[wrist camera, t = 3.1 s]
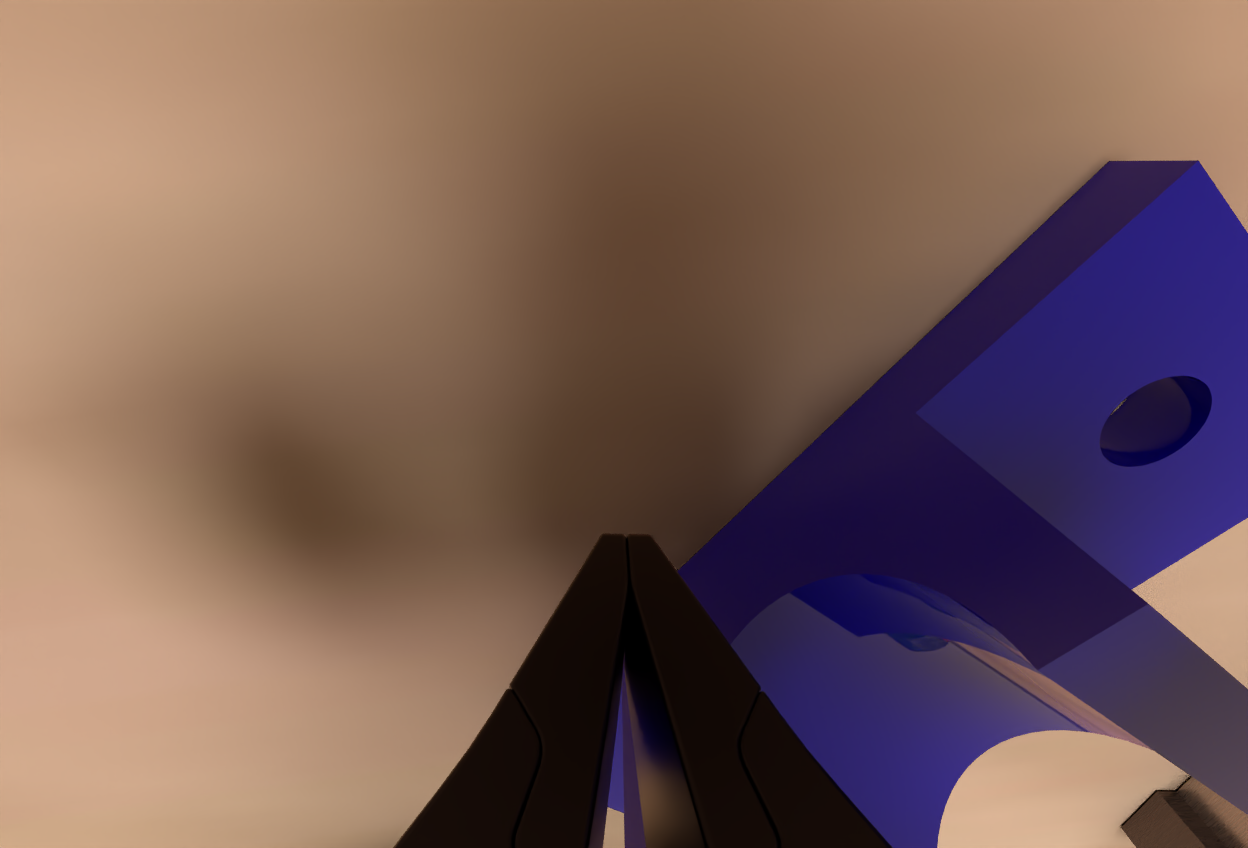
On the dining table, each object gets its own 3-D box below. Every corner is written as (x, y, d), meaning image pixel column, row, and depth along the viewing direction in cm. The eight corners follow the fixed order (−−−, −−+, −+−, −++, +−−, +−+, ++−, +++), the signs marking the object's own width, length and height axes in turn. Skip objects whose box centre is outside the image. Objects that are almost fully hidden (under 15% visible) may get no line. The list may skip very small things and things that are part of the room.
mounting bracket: (1087, 161, 8) (1894, 156, 3) (1267, 392, 11) (1931, 624, 5) (523, 706, 15) (474, 1008, 10) (705, 782, 17) (747, 1065, 12)
